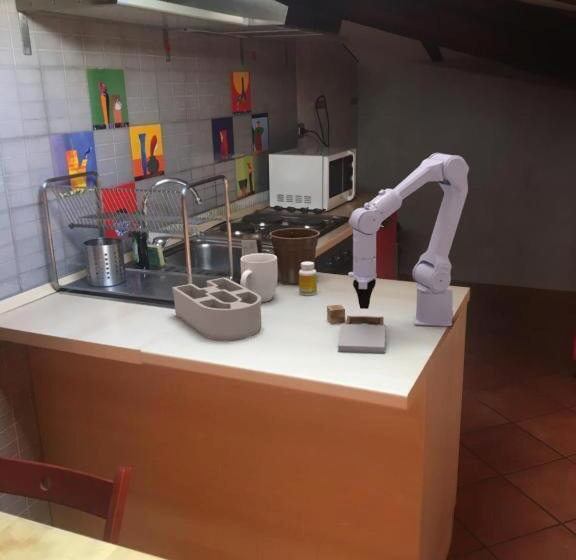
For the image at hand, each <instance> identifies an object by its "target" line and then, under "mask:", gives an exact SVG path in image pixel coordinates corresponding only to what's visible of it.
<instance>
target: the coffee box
mask: <svg viewBox="0 0 576 560" xmlns="http://www.w3.org/2000/svg"><path fill="white" fill-rule="evenodd" d="M240 239H241V240H240V241H241V242H240V243H241V257H243V256H245V255H249V254H257V253H264V252H263V234H262V233H250V234H247V233H246V234H242V236H241V238H240Z"/></svg>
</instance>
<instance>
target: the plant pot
mask: <svg viewBox="0 0 576 560" xmlns="http://www.w3.org/2000/svg"><path fill="white" fill-rule="evenodd" d="M320 233H321V232H320V231H319V230H316V229H312V228H305V227H304V228H302V227H291V228H290V227H288V228H281V229H276V230H271V232H269V236H270V237H271V244H272V245H271V246H272V247H273V255H275V256H276V257H277V266H278V267H277V268H278V278H277V283H278V282H279V283H282V284H283V285H289V286H290V285H291V286H297V285H299V271H300V270H301V269H302V268H301V263H302V262H313V263H314V268H313V269H315V263H316V255H317V254H316V253H317V246H318V244H319V243H318V241H319V236H320Z"/></svg>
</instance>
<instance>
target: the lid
mask: <svg viewBox="0 0 576 560" xmlns="http://www.w3.org/2000/svg"><path fill="white" fill-rule="evenodd" d="M337 343H338V344H337V350H338V351H337V352H349V353H350V352H351V353H352V352H354V353H377V354H378V353H380V354H384V353H385V352H386V350H385V349H386V325H384V324H383V325H359V324H346V323H340V327H339V336H338V342H337Z"/></svg>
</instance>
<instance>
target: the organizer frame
mask: <svg viewBox="0 0 576 560" xmlns="http://www.w3.org/2000/svg"><path fill="white" fill-rule="evenodd" d="M384 320H385V319H384V316H371V315H370V316H365V315H363V316H361V315H347V317H346V319H345V324H353V325H359V324H363V323H366V324H370V325H384V322H385V321H384Z"/></svg>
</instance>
